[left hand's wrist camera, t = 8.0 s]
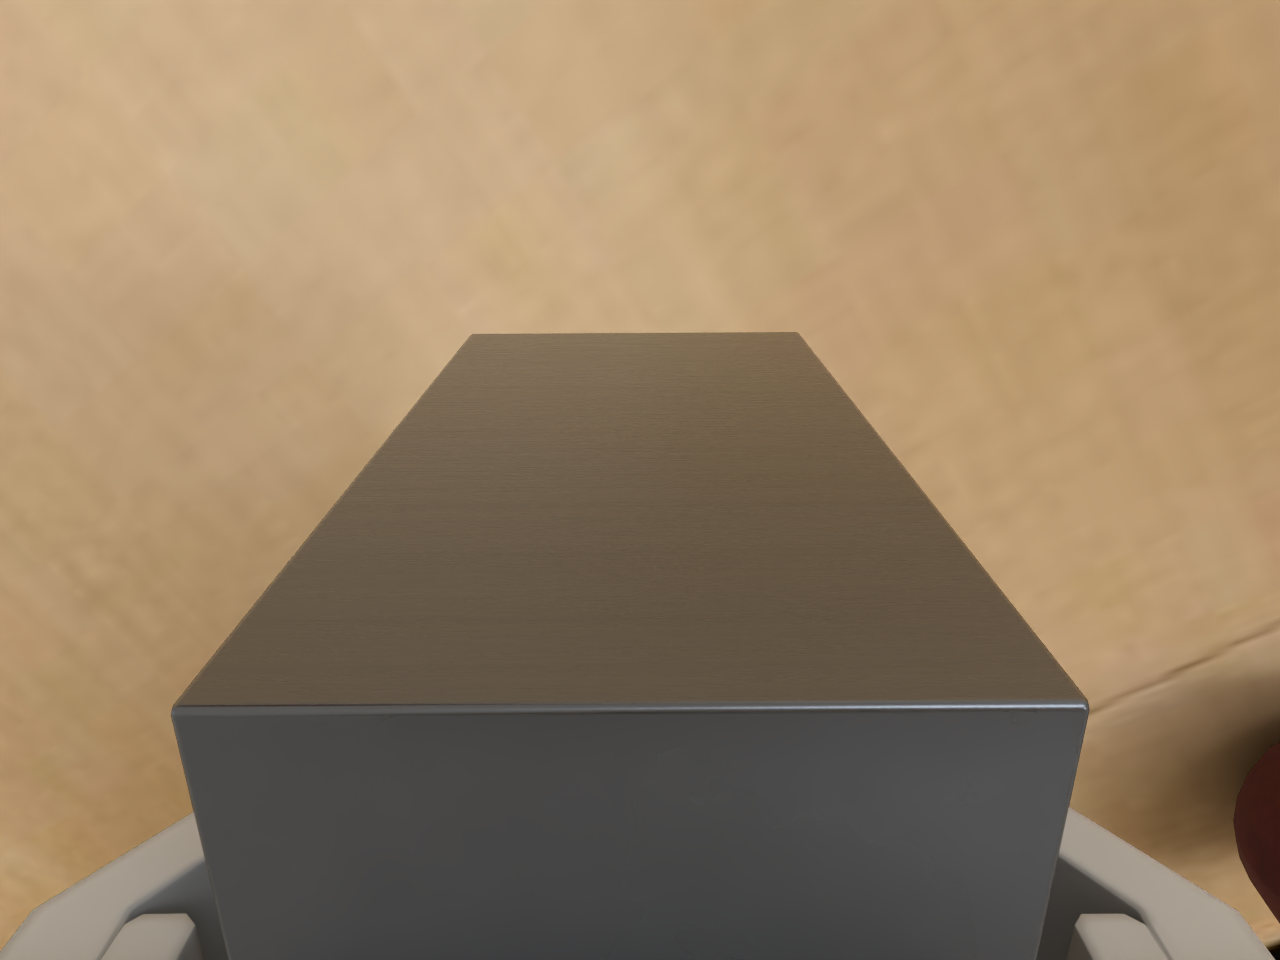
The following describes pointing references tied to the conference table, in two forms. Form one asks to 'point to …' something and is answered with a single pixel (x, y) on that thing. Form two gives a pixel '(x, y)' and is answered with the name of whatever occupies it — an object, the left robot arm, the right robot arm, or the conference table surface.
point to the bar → (632, 685)
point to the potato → (1261, 827)
